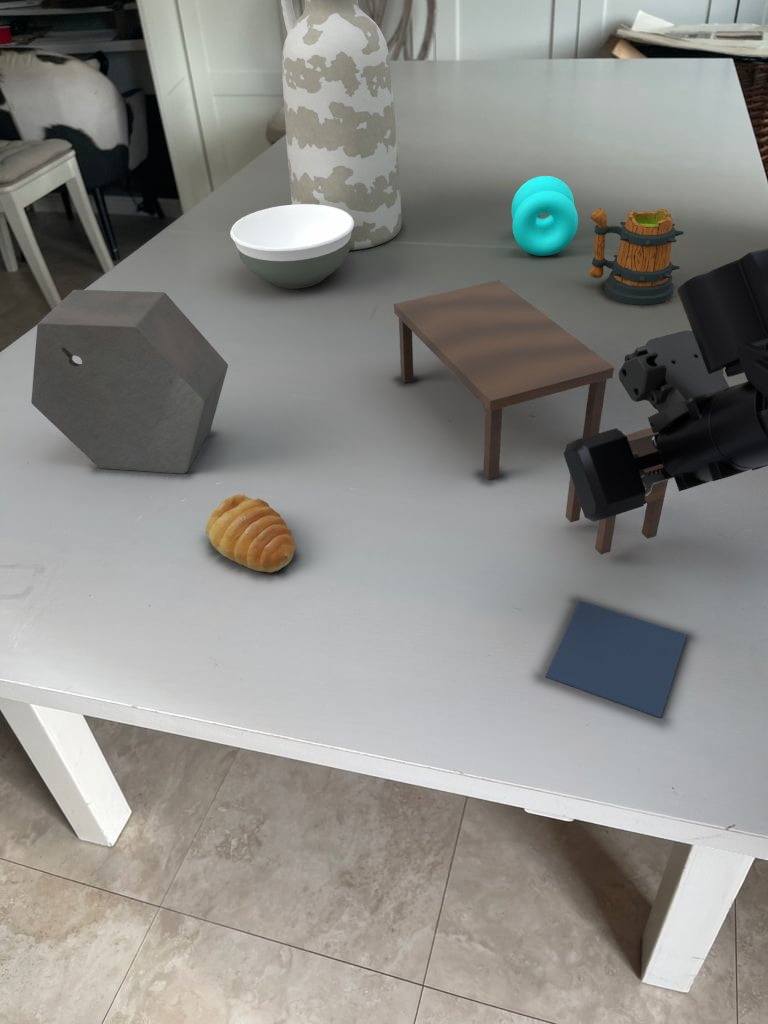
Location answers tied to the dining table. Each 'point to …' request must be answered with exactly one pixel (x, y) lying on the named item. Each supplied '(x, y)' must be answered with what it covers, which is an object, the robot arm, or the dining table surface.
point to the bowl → (294, 243)
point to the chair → (654, 500)
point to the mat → (618, 658)
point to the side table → (501, 353)
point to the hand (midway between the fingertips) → (627, 471)
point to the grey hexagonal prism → (127, 379)
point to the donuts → (548, 231)
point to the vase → (341, 117)
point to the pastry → (251, 534)
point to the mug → (637, 257)
